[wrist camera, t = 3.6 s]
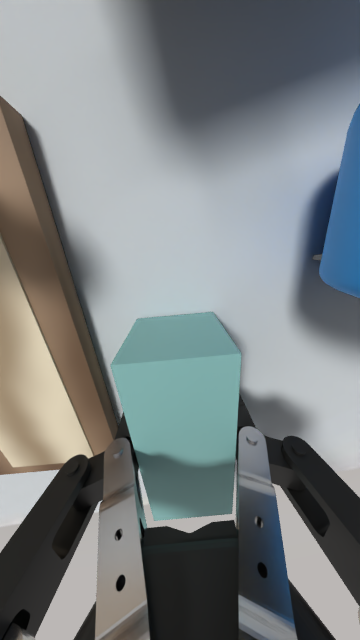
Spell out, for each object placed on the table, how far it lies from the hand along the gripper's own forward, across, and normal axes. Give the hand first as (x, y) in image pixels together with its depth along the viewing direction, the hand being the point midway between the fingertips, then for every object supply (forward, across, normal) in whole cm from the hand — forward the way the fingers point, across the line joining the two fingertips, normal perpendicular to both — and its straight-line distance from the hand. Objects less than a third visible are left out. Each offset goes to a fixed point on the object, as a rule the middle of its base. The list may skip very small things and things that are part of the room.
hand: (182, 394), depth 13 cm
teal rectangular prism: (+1, 0, 0) cm, 1 cm away
